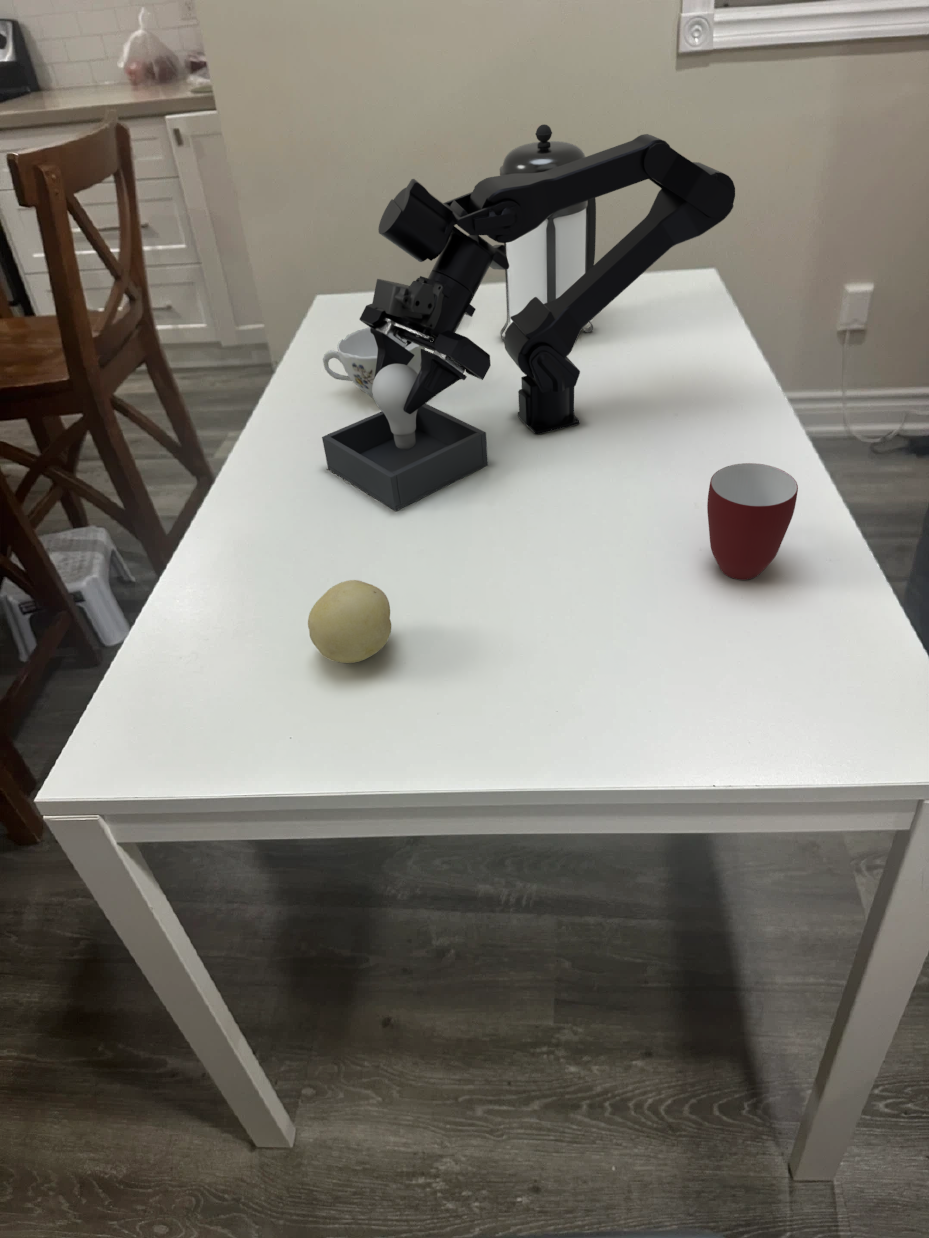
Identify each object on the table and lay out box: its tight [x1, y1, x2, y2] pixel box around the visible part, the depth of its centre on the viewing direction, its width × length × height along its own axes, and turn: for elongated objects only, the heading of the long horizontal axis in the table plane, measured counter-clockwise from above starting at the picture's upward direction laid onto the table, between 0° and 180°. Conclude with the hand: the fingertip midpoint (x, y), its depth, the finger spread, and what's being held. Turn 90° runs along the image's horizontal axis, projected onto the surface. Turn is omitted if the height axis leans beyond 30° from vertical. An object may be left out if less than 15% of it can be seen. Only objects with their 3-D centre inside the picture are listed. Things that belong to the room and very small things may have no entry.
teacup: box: [322, 326, 426, 399], centre depth 125 cm, size 15×12×8 cm
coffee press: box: [499, 124, 597, 341], centre depth 131 cm, size 17×16×30 cm
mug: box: [706, 462, 799, 581], centre depth 86 cm, size 10×8×10 cm
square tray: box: [321, 402, 489, 512], centre depth 108 cm, size 15×15×5 cm
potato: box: [307, 579, 392, 664], centre depth 80 cm, size 8×8×8 cm
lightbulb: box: [372, 364, 418, 450], centre depth 105 cm, size 6×6×11 cm
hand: (390, 404), depth 103 cm, fingers closed on lightbulb, 6 cm apart
